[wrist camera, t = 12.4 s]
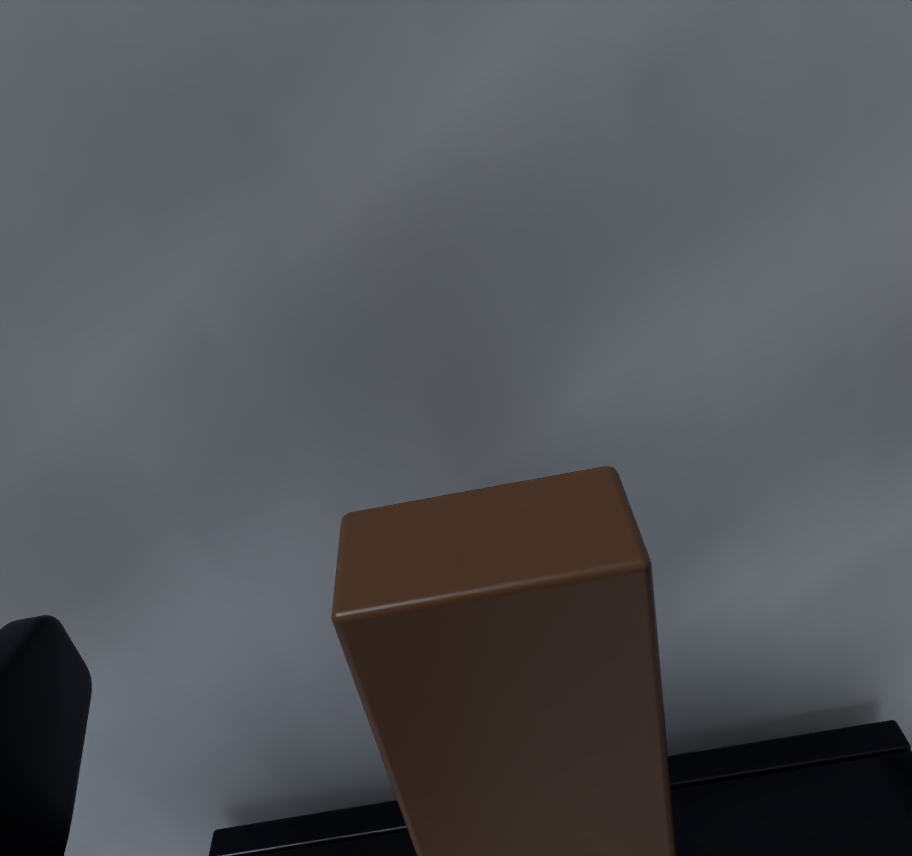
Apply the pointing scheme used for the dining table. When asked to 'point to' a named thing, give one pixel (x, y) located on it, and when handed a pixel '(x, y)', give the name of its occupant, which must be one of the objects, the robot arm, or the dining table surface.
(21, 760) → the robot arm
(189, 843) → the dining table surface
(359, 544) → the pan
